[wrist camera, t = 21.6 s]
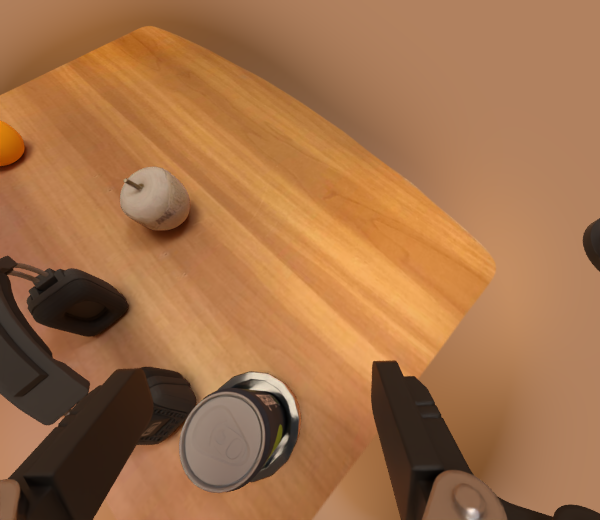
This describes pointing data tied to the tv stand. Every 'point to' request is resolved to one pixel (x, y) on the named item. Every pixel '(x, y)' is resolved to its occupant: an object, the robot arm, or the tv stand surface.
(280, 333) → the tv stand surface
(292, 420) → the holder
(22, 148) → the orange
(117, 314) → the headphones
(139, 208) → the decorative object
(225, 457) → the beverage can
